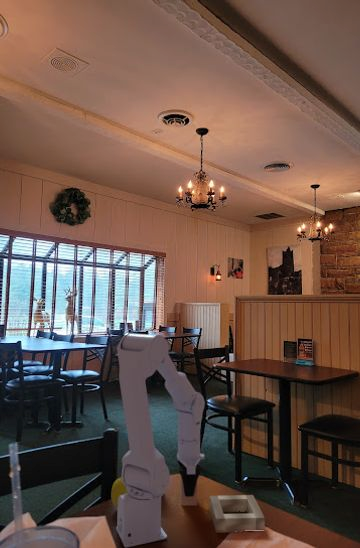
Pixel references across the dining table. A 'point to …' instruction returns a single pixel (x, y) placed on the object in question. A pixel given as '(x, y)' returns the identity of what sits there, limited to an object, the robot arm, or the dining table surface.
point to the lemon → (117, 491)
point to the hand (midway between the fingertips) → (188, 491)
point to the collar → (236, 521)
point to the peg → (187, 500)
